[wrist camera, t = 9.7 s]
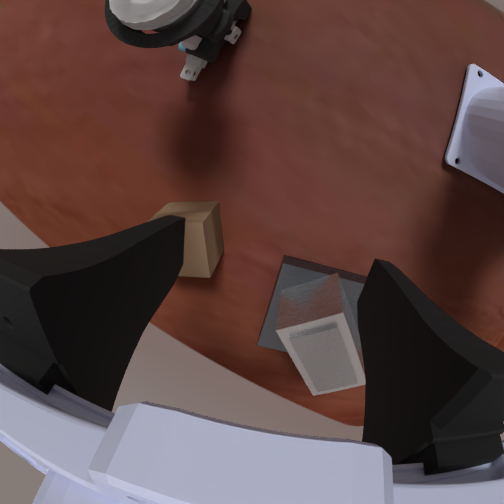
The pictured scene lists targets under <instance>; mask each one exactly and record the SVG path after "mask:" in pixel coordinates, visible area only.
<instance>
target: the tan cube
mask: <svg viewBox="0 0 504 504" xmlns="http://www.w3.org/2000/svg"><path fill="white" fill-rule="evenodd" d="M167 215H174V216H179V217H184V218H186V219H185V238H184V263H183V266H182V268H181V270H180V273H179V275H178V276H187V277H204V278H211V276H212V274H213V272H214V270H215V268H216V265H217V263H218V261H219V259H220V257H221V255H222V253H223V251H224V243H223V234H222V225H221V215H220V205H219V201H200V202H169V203H168V204H167V205H165V206H164V207H163V208H162V209H161V210H160V211H159V212H157V213H156V214H155V215H154V216H153V217H152V218H151V219H150V220H148V221H147V222H149V221H151V220H154V219H157V218H160V217H163V216H167Z"/></svg>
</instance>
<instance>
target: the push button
mask: <svg viewBox="0 0 504 504" xmlns="http://www.w3.org/2000/svg"><path fill="white" fill-rule="evenodd" d="M251 10H252V9H251V7H250V5H249V4H248V2H247V0H106V2H105V18H106V22H107V25H108V27H109V29H110V30H111V32H112V33H113V34H114V35H115V36H116V37H117V38H118V39H119V40H121V41H122V42H124V43H126V44H129V45H132V46H136V47H142V48H158V47H164V46H173V45H175V44H177V43H180V44H179V46H178V49H179V50H181V51H183V52H186V53H188V56H187V58H186V60H185V62H187V63H186V65H185V66H184V68H183V70H182V72H181V74H180V77H181V78H184V79H186V80H188V81H189V80H192V81H195V80H196V78H197V76H198V75H199V73H200V71H201V69H202V68H205V66H206V64H207V62H210V63H214V62H215V61H216V59H217V57H218V55H219V52H220V51H221V49H222V47H223V46H224V44H225V42H226V41H229V42H230V43H232V44H234V43H235V42H236V41H237V39H238V37H239V36H240V34H241V30H240V29H239V28H238V27H236V24H237V23H238V21H239V20H240V19H243V20H245V19H246V18H247V17H248V15H249V14H250V12H251ZM141 30H152V31H155V32H158V33H155V34H145V33H143V32H142V31H141ZM236 35H237V36H236ZM235 36H236V38H235ZM234 38H235V39H234ZM187 69H189V70H188V72H187V73H186V74H185V71H186V70H187ZM190 72H191V73H190ZM194 72H196V74H195V75H194V76H193V74H194Z"/></svg>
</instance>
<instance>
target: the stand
mask: <svg viewBox="0 0 504 504" xmlns="http://www.w3.org/2000/svg"><path fill="white" fill-rule="evenodd" d="M335 273H338V274H339V277H340V280H341V283H342V285H343V288H344V291H345V294H346V297H347V300H348V303H349V306H350V309H351V312H352V315H353V318H354V321H355V324H356V327H357V330H358V333H359V329H358V320H357V300H358V298H359V296H360V294H361V291H362V289H363V287H364V284H365V282H366V279H367V277H366V276H362V275H358V274H355V273H351V272H347V271H343V270H339V269H336V268H332V267H328V266H324V265H320V264H317V263H313V262H309V261H305V260H301V259H297V258H294V257H290V256H286V255H284V258H283V261H282V264H281V268H280V271H279V274H278V278H277V281H276V284H275V287H274V291H273V294H272V297H271V300H270V303H269V307H268V310H267V313H266V316H265V319H264V322H263V326H262V329H261V332H260V335H259V339H258V344H257V345H258V346H262V347H266V348H271V349H275V350H279V351H283V352H288V351H287V350H286V348H285V346H284V344H283V343H282V341H281V339H280V337H279V336H278V334H277V332H276V325H277V318H278V311H279V304H280V297H281V290H283V289H287V288H290V287H293V286H297V285H300V284H303V283H306V282H310V281H313V280H316V279H319V278H323V277H326V276H329V275H332V274H335Z"/></svg>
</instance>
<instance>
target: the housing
mask: <svg viewBox="0 0 504 504" xmlns="http://www.w3.org/2000/svg"><path fill="white" fill-rule="evenodd" d="M276 332H277V334H278V336H279V337H280V339H281V341H282V343H283V344H284V346H285V348H286V350H287V351H288V353H289V355H290V357H291V358H292V360H293V362H294V364H295V365H296V367H297V369H298V370H299V372H300V374H301V376H302V377H303V379H304V381H305V383H306V384H307V386H308V388H309V390H310V391H311V393H312V395H313V396H314V395H320V394H325V393H330V392H334V391H339V390H343V389H348V388H352V387H356V386H360V385H364V384H366V381H365V369H364V362H363V355H362V349H361V342H360V336H359V333H358V330H357V327H356V324H355V321H354V318H353V315H352V312H351V309H350V306H349V303H348V300H347V297H346V294H345V291H344V288H343V285H342V283H341V280H340V277H339V274H338V273H335V274H332V275H329V276H326V277H323V278H319V279H316V280H313V281H310V282H306V283H303V284H300V285H297V286H293V287H290V288H287V289H283V290H281V297H280V304H279V311H278V318H277V325H276Z"/></svg>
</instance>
